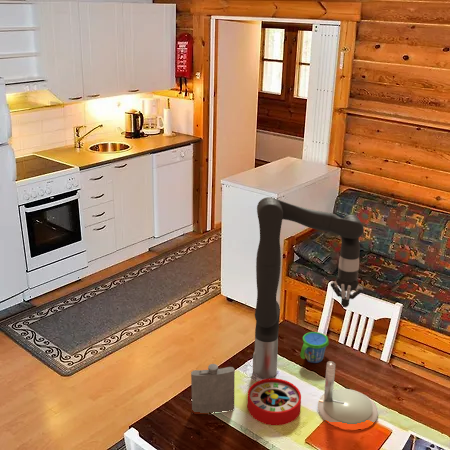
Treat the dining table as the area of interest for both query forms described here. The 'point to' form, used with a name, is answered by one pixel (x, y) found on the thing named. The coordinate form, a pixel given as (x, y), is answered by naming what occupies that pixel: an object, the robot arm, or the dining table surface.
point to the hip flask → (213, 389)
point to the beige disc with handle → (344, 401)
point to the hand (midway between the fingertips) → (344, 306)
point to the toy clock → (274, 401)
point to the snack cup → (314, 346)
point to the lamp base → (328, 418)
